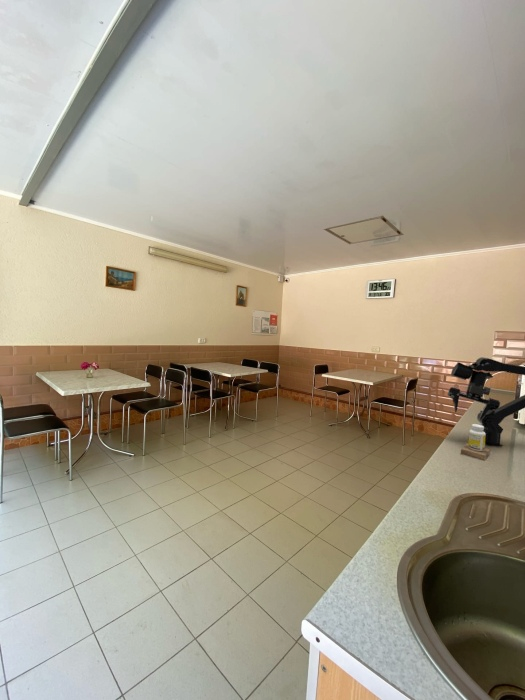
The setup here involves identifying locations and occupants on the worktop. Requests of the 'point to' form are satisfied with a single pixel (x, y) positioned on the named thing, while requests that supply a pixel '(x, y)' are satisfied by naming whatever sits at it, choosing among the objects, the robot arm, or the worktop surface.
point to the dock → (475, 452)
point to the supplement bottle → (477, 438)
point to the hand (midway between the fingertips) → (467, 416)
